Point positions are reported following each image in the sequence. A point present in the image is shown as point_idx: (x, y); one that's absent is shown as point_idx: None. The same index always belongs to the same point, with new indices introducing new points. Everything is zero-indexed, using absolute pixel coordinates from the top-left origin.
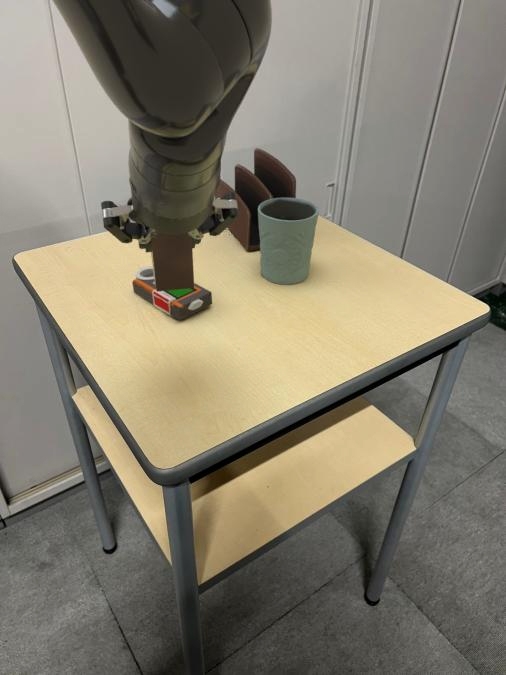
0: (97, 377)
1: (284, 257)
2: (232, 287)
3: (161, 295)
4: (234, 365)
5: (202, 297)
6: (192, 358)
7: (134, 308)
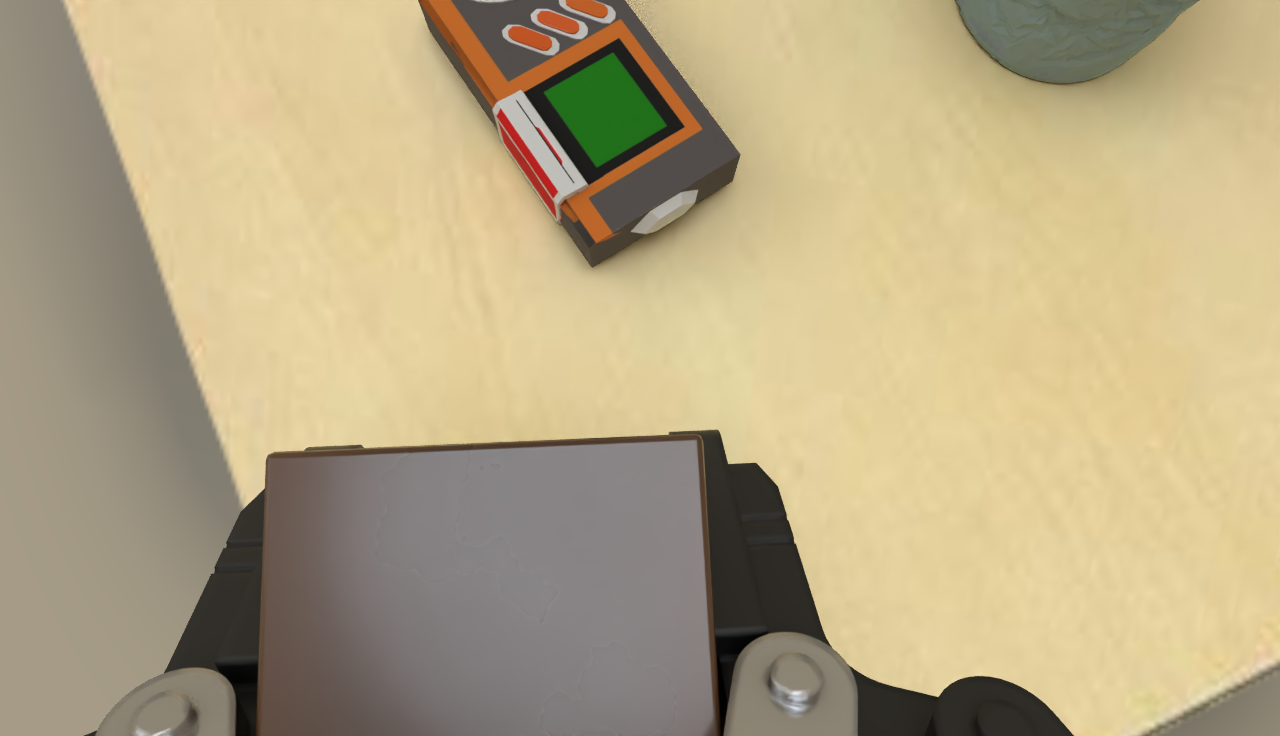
0: None
1: (1107, 4)
2: (825, 63)
3: (528, 148)
4: None
5: (698, 182)
6: None
7: (425, 142)
